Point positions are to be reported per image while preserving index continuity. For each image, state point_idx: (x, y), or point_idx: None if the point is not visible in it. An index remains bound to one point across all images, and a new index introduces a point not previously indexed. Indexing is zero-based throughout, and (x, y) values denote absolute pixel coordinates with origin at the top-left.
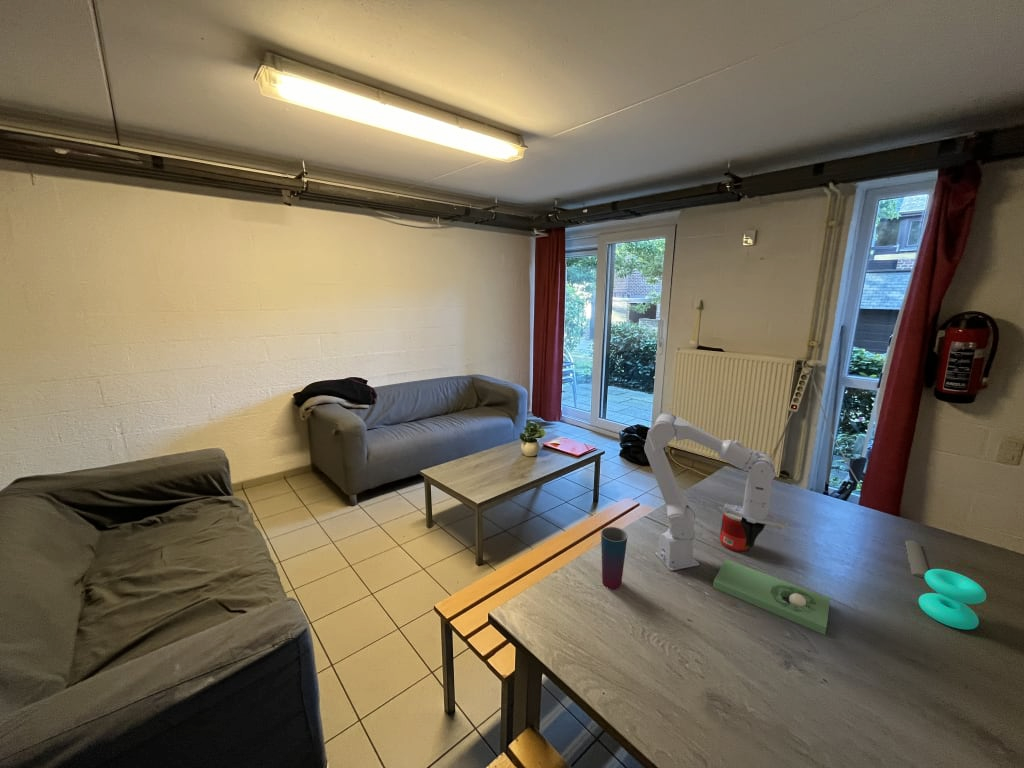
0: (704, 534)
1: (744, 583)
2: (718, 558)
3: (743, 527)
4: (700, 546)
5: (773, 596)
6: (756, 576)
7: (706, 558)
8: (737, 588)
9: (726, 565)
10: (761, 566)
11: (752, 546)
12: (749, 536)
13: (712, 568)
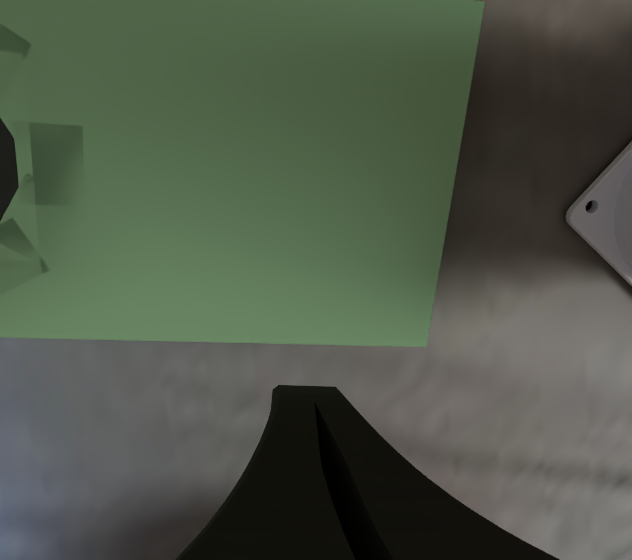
0: (544, 545)
1: (270, 122)
2: (452, 369)
3: (533, 557)
4: (561, 421)
5: (50, 86)
6: (208, 271)
7: (521, 323)
8: (308, 13)
9: (413, 272)
10: (210, 447)
11: (273, 393)
12: (346, 463)
13: (479, 239)
